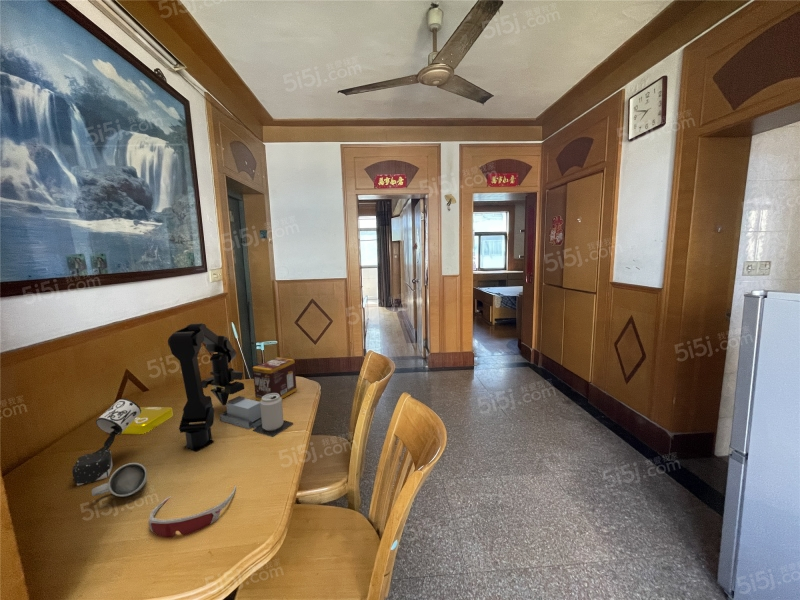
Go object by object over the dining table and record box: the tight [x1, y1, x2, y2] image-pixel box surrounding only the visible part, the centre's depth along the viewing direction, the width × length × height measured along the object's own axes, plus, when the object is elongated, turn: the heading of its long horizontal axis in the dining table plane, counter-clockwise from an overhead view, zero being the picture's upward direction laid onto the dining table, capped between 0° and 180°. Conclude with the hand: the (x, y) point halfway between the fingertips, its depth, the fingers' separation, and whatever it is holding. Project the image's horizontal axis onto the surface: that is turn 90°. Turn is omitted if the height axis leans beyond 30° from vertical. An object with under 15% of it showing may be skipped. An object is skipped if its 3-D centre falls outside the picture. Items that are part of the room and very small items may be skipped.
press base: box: [219, 410, 294, 438], centre depth 125 cm, size 10×28×3 cm, turn 65°
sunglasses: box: [148, 484, 237, 538], centre depth 81 cm, size 17×17×5 cm
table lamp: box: [71, 398, 141, 487], centre depth 98 cm, size 25×10×10 cm
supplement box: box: [252, 356, 297, 402], centre depth 149 cm, size 10×15×16 cm
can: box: [259, 393, 285, 431], centre depth 120 cm, size 8×8×12 cm
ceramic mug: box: [91, 462, 148, 498], centre depth 87 cm, size 11×8×8 cm
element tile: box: [120, 406, 174, 435], centre depth 126 cm, size 15×15×5 cm
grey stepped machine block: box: [225, 395, 261, 422], centre depth 127 cm, size 6×12×7 cm, turn 65°
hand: (224, 405), depth 132 cm, fingers closed
